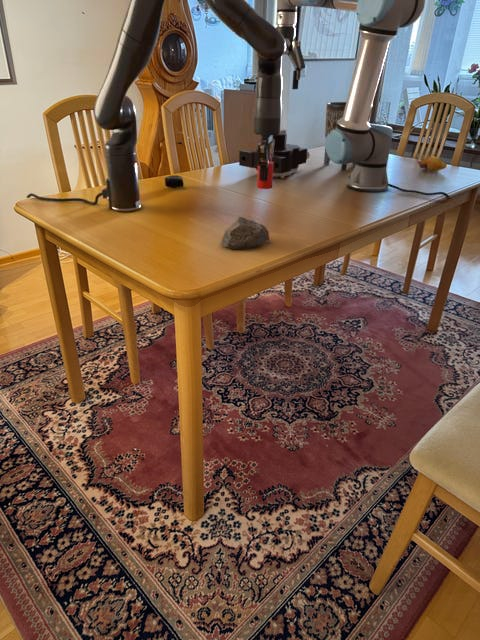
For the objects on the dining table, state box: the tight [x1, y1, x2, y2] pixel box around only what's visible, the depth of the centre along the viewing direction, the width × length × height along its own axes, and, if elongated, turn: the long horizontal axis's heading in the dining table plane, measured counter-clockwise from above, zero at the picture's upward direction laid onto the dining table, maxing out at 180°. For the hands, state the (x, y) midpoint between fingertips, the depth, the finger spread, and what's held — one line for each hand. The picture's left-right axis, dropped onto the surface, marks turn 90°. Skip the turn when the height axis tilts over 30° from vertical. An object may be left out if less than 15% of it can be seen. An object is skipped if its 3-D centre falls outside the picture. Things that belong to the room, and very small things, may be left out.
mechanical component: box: [238, 127, 311, 179], centre depth 191 cm, size 22×21×30 cm
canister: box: [256, 160, 274, 190], centre depth 133 cm, size 4×5×7 cm
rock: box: [221, 216, 270, 250], centre depth 119 cm, size 13×9×6 cm, turn 131°
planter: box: [323, 101, 374, 172], centre depth 204 cm, size 20×20×26 cm
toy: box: [417, 156, 448, 172], centre depth 207 cm, size 11×6×15 cm
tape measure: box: [164, 175, 184, 189], centre depth 171 cm, size 7×7×4 cm
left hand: (264, 178), depth 134 cm, fingers closed on canister, 4 cm apart
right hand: (282, 88), depth 185 cm, fingers open, 13 cm apart
